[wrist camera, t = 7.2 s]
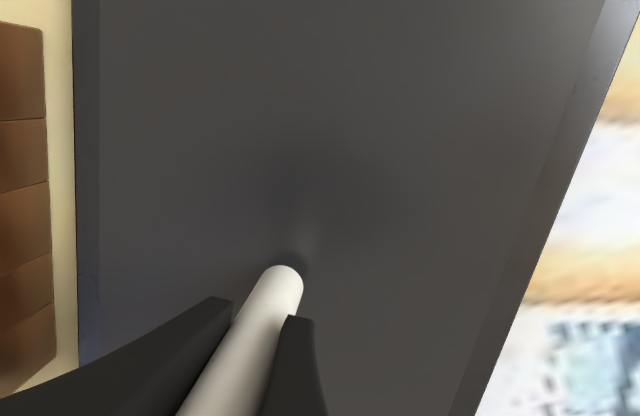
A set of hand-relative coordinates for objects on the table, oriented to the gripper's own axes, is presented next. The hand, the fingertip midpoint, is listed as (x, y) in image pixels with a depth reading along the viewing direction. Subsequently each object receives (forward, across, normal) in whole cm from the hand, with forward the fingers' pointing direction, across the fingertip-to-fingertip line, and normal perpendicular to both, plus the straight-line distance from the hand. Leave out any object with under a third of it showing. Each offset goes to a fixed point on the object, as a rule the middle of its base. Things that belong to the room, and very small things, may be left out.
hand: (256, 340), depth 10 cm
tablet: (+5, 0, -2) cm, 5 cm away
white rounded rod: (+4, 0, 0) cm, 4 cm away
